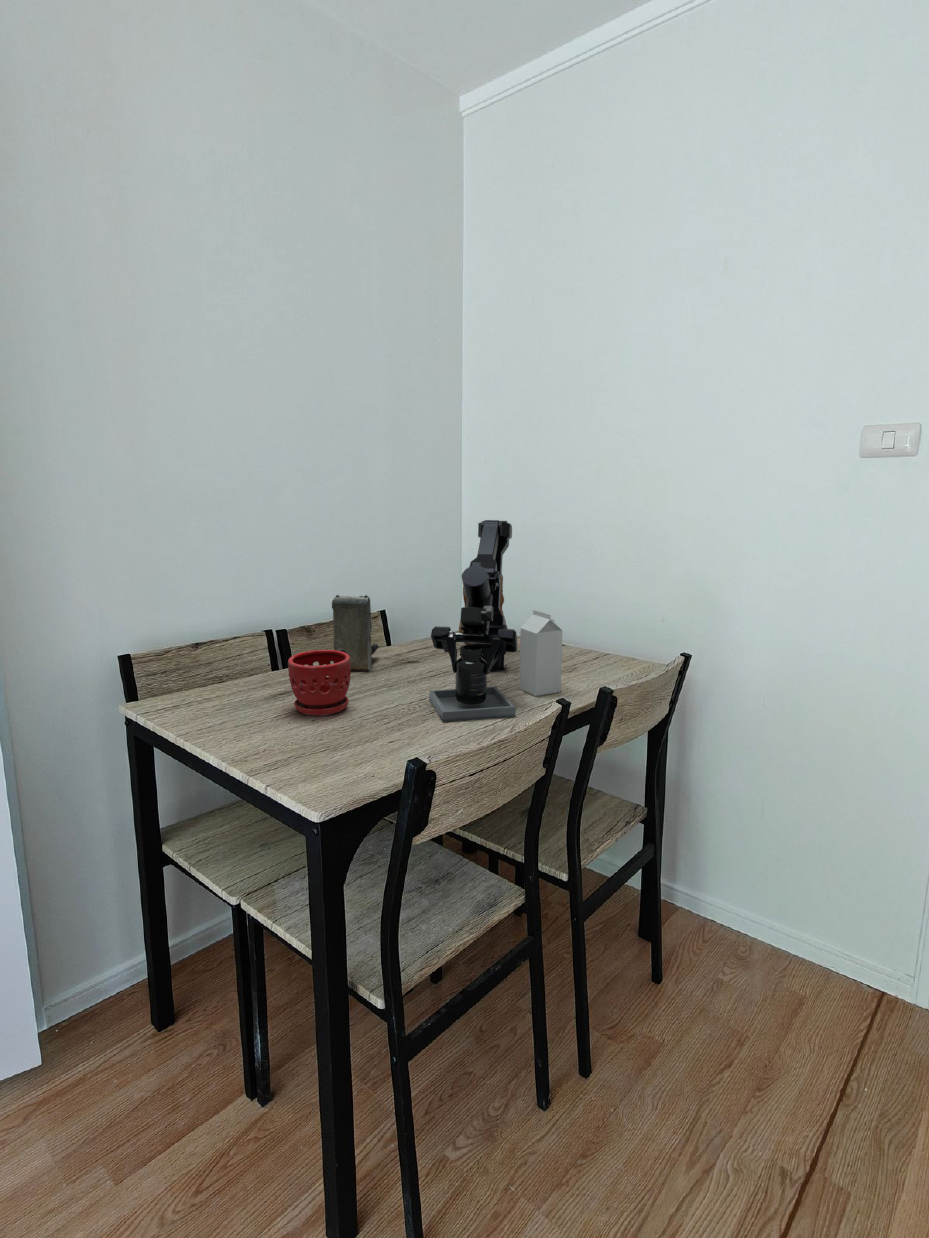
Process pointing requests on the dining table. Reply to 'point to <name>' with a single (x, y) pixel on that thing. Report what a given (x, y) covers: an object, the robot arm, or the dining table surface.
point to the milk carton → (540, 655)
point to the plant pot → (320, 681)
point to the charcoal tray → (471, 706)
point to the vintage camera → (353, 630)
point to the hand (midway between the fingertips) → (470, 672)
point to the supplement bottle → (470, 676)
